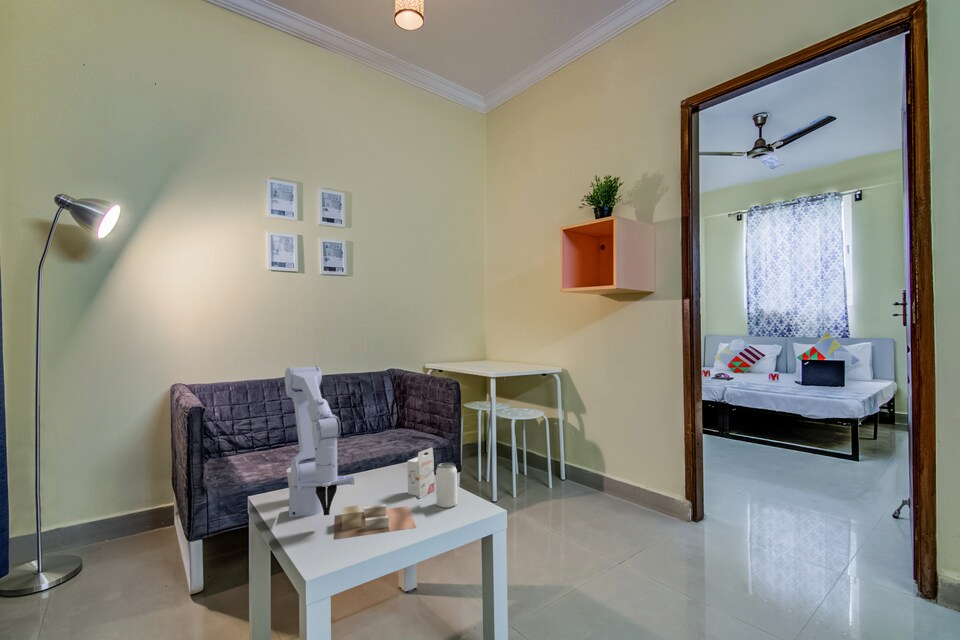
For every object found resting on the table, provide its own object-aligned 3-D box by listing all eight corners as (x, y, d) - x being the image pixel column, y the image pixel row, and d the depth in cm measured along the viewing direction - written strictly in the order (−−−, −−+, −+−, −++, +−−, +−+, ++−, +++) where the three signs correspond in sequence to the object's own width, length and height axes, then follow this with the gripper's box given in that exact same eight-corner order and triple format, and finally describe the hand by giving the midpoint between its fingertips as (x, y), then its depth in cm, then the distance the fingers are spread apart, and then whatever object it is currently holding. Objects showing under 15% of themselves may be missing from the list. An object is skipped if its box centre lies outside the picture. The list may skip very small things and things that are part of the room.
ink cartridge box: (422, 488, 153) (422, 445, 153) (434, 490, 150) (434, 446, 151) (407, 496, 145) (406, 451, 146) (419, 499, 143) (418, 452, 143)
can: (461, 503, 138) (461, 464, 138) (446, 510, 133) (445, 469, 134) (447, 498, 142) (446, 461, 143) (432, 504, 138) (431, 465, 138)
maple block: (342, 529, 119) (342, 514, 119) (342, 522, 124) (342, 507, 124) (361, 526, 120) (361, 511, 120) (360, 519, 125) (360, 505, 125)
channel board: (333, 543, 113) (333, 529, 113) (334, 519, 128) (334, 506, 128) (416, 531, 119) (416, 518, 119) (408, 509, 134) (407, 497, 134)
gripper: (295, 469, 115) (296, 523, 114) (354, 464, 119) (354, 515, 118) (298, 462, 121) (298, 513, 121) (353, 457, 126) (354, 506, 125)
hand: (326, 513), depth 120 cm, fingers closed
